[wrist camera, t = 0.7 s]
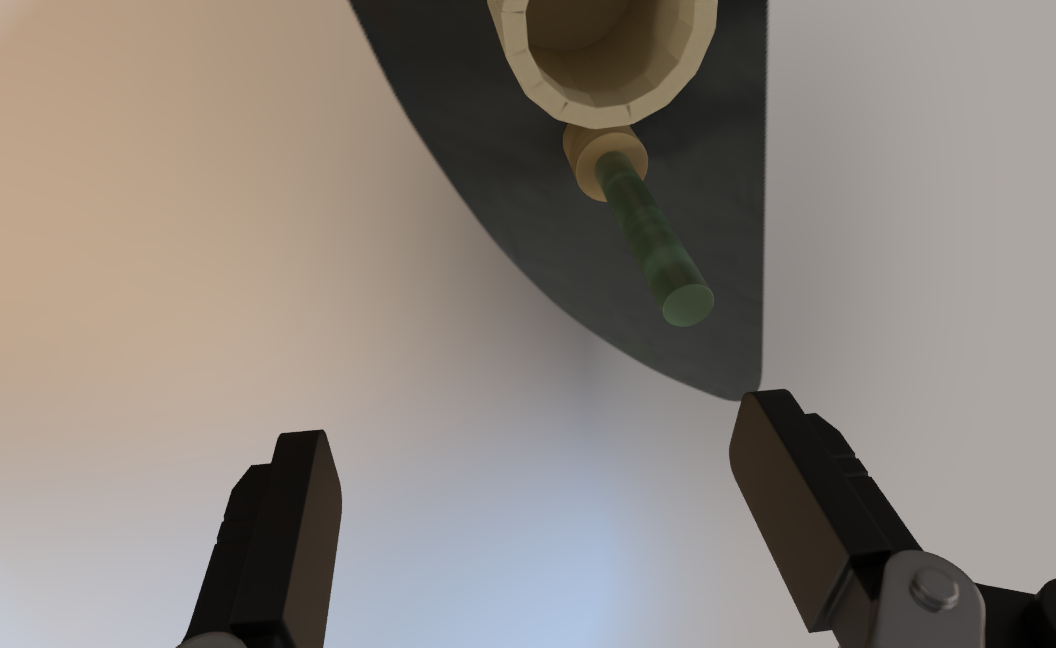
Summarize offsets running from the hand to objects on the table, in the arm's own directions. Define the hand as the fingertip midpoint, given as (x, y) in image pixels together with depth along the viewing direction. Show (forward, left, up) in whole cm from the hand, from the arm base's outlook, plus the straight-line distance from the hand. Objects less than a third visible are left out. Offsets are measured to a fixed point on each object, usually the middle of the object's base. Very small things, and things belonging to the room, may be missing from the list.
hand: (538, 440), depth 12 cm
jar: (-5, +4, -28) cm, 29 cm away
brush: (+2, +8, -28) cm, 29 cm away
